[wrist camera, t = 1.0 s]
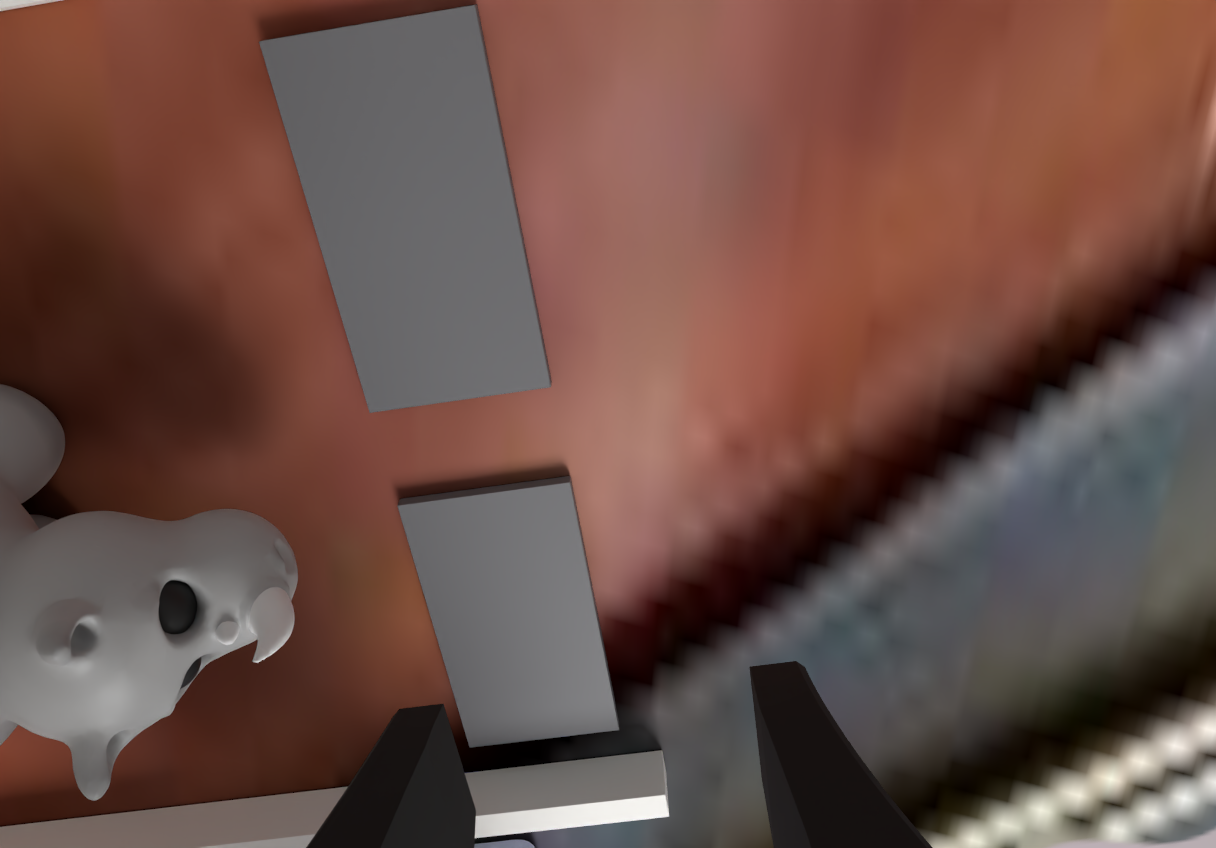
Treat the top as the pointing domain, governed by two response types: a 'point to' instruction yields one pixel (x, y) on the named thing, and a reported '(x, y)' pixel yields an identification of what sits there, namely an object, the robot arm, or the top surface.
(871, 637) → the top surface
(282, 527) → the top surface
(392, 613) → the top surface
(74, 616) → the chubby cartoon animal
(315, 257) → the top surface
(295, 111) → the rectangular frame
